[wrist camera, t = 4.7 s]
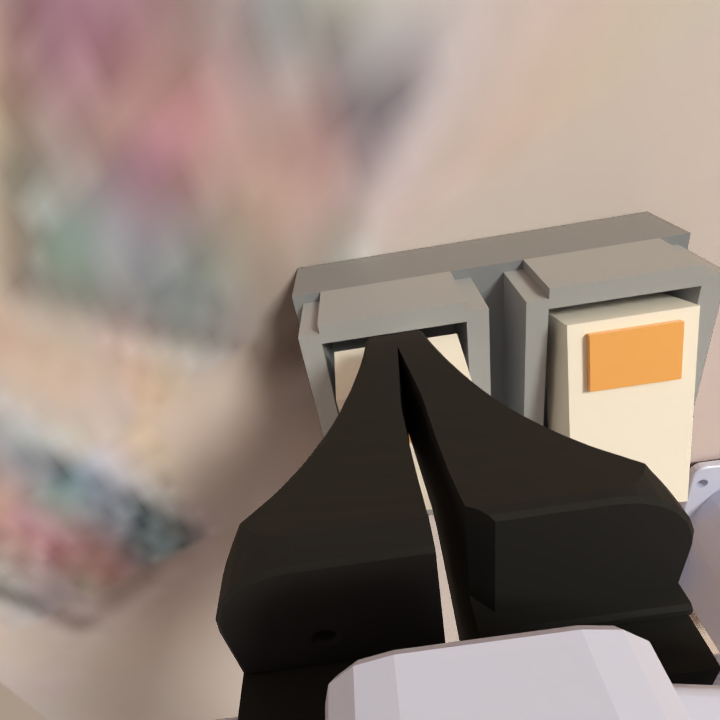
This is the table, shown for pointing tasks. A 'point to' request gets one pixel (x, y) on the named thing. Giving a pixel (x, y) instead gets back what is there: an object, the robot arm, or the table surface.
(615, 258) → the breaker panel
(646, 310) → the breaker
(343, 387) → the breaker
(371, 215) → the table surface
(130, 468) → the table surface
